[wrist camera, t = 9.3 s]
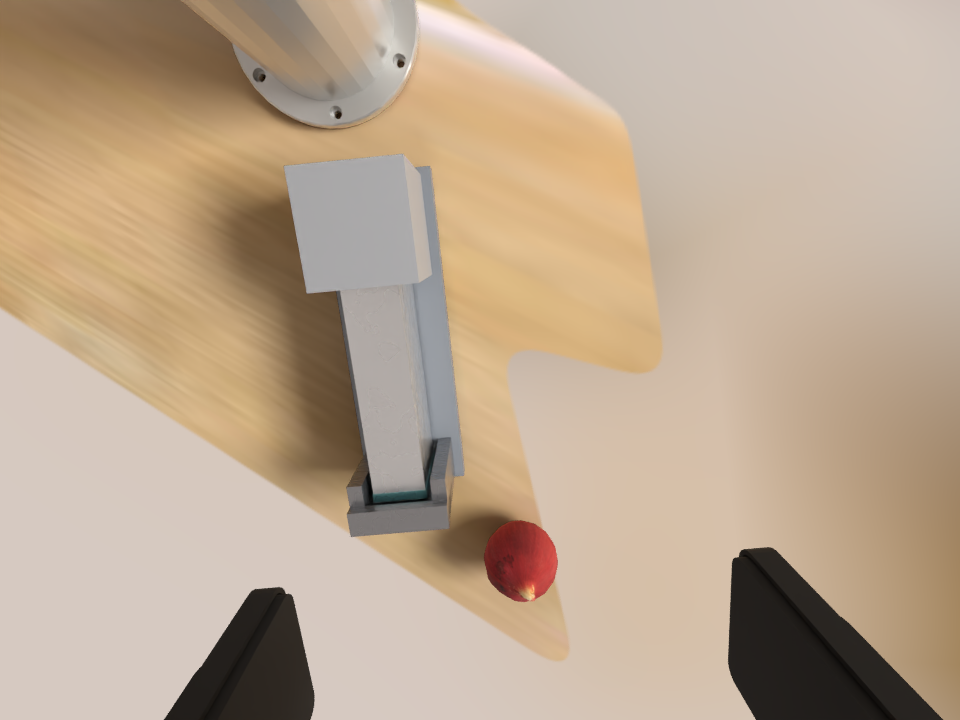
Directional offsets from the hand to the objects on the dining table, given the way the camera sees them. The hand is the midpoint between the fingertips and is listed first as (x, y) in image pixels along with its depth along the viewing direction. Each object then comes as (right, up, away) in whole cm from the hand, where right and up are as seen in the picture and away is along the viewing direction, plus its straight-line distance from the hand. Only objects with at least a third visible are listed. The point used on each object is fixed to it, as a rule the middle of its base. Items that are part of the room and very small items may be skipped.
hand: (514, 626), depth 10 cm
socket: (-6, -2, +29) cm, 29 cm away
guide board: (-7, +8, +27) cm, 29 cm away
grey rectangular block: (-7, +5, +26) cm, 28 cm away
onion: (+3, -10, +32) cm, 33 cm away
